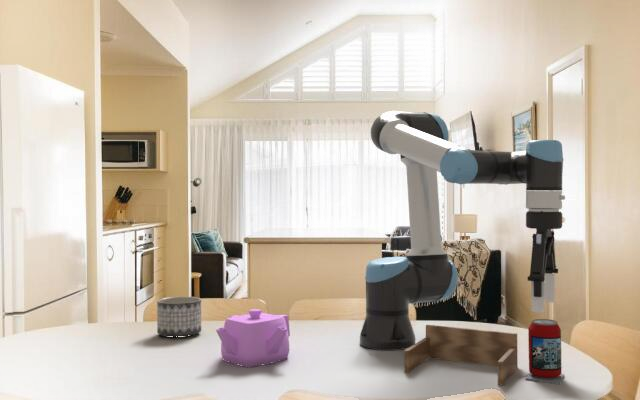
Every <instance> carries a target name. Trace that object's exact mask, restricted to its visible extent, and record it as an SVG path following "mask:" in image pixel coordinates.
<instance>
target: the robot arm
mask: <svg viewBox="0 0 640 400" xmlns="http://www.w3.org/2000/svg"><path fill="white" fill-rule="evenodd" d="M370 137H371V138H370V139H371V141H372V143H373V145H374V146H375V147H376V149H377V148H378V149H379V150H381V151H382V152H385V153H387V154H389V155H397V154H398V155H400V161H401V162H402V164H404V166H406V182H407V183H406V184H407V199H408V200H407V201H408V202H407V203H408V215H409V216H408V217H409V234H410V250H409V251H408V252H407V253H406V254H405V256H392V257H391V256H388V257H387V256H386V257H382V258H380V257H379V258H376V259H373V260H370V261H369V262H368V263H367V264H366V268H365V276H364V280H365V319H364V321H363V324H362V328H361V330H360V331H361V332H360V334H359V344H360V346H362V347H364V348H368V349H372V350H380V351H381V350H382V351H398V350H399V351H400V350H406V349H408V348H409V347H411V346H412V345H414V344H416V334H415V331H414V328H413V325H412V323H411V319H410V313H409V310H410V309H409V304H418V303H428V302H431V303H432V302H433V303H436V302H438V301H439V302H440V301H444V300H447V299H449V298H450V297H451V296H452V295H453V294H454V292H455V291H456V288H457V286H458V281H459V279H458V278H459V277H458V276H459V275H458V270H457V267H456V266H455V263H454V262H453V261H452V260H450V259H449V258H448V257H449V255H448V252H447V251H446V250H445V249H444V248H443V247H442V236H441V235H442V234H441V219H440V218H441V217H440V216H441V215H440V214H441V213H440V202H439V185H438V182H439V181H438V173H440V175H441V176H442V177H443V178H444V181H446V182H448V183H451V184H457V185H465V184H468V185H469V184H470V185H471V184H475V185H476V184H479V185H480V184H483V185H484V184H485V185H486V184H487V185H488V184H491V185H493V184H494V185H509V184H510V185H513V184H514V185H515V184H516V185H517V184H518V185H519V184H525V186H526V187H525V209H527V210H528V211H526V212H525V227H526V228H528V229H533V230H534V229H536V232H535V233H533V234H532V236H531V237H532V248H531V259H530V270H529V275H528V276H527V282H529V281H530V284H531V285H530V286H531V288H530V289H531V290H530V291H531V293H530V297H531V300H530V310H531V311H530V312H533V313H543V314H544V313H546V303H555V293H556V292H555V289H556V288H555V284H556V283H555V280H556V277H555V276H556V275H555V274H558V273H559V268H557V265H556V263H557V262H556V251H555V231H554V230H560V229H562V228H563V213H562V211H560V210H562V208H563V201H565V199H566V196H565V195H564V194H563V169H564V157H563V156H564V155H563V153H564V152H563V144H562V142H561V141H559V140H557V139H536V140H535V139H534V140H529V141H528V142H527V143H526V148H525V150H521V151H519V150H518V151H517V150H516V151H503V150H502V151H500V150H498V151H497V150H476V149H475V150H474V149H470V148H467V147H465V146H461V145H459V144H457V143H454V142H451V141H449V140H450V139H449V137H450V135H449V129H448V125H447V124H446V122H445V121H444V119H443V118H441V116H440V115H438V114H434V113H428V112H416V111H415V112H413V111H399V110H389V111H386V112H383V113H381V114H380V115H379V116H378V117H376V118H375V119H374V121H373V123H372V125H371V127H370ZM562 194H563V195H562Z"/></svg>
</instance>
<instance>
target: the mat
mask: <svg viewBox="0 0 640 400" xmlns="http://www.w3.org/2000/svg"><path fill="white" fill-rule="evenodd" d="M564 377H565V374H564V373H561V375H559V376H558V377H556V378H553V379H544V378H538V377H535V376H534V375H533V374H532V373H530V372H529V373H528V374H527V375H526V377H525V381H531V382H539V383H545V384H553V383H554V385H561V383H562V381H563V380H564V379H563V378H564Z"/></svg>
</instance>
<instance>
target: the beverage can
mask: <svg viewBox="0 0 640 400" xmlns="http://www.w3.org/2000/svg"><path fill="white" fill-rule="evenodd" d="M527 333H528V369H529V370H528V372H529V373H532V374H533V375H534V376H535V377H538V378H544V379H553V378H556V377H558V376H559V375H561V374H562V330H561V327H560V326H559V324H558V321H557V320H554V319H547V318H536V319H535V318H534V319H532V320H531V322H530V324H529V326H528V332H527Z"/></svg>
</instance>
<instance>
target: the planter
mask: <svg viewBox="0 0 640 400" xmlns="http://www.w3.org/2000/svg"><path fill="white" fill-rule="evenodd" d="M156 302H157V303H156V311H157V312H156V316H157V317H156V319H157V321H156V322H157V324H156V325H157V329H156V330H157V331H156V333H157V334H158V335H160V336H163V337H166V336H173V337H176V336H177V337H178V336H188V335H192V336H193V335H197V334H199V333H201V331H202V299H201V298H200V297H196V296H172V297H171V296H170V297H163V298H160V299H158V300H157V301H156Z"/></svg>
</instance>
